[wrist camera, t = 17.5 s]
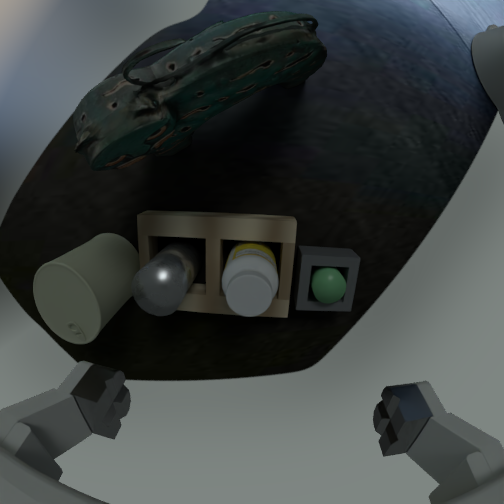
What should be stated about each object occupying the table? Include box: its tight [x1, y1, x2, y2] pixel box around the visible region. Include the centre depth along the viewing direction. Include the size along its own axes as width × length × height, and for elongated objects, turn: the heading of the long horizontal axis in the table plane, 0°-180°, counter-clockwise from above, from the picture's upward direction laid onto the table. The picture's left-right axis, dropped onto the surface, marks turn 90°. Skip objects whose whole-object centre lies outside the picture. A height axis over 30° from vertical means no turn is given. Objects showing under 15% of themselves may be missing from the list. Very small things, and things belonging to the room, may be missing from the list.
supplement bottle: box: [222, 240, 278, 317], centre depth 29 cm, size 5×5×10 cm
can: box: [33, 233, 140, 344], centre depth 29 cm, size 9×9×12 cm
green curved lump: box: [73, 11, 327, 171], centre depth 19 cm, size 20×6×20 cm, turn 118°
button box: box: [293, 246, 360, 311], centre depth 32 cm, size 6×6×4 cm
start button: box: [310, 266, 346, 303], centre depth 31 cm, size 4×4×3 cm
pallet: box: [137, 211, 297, 318], centre depth 33 cm, size 17×11×3 cm, turn 87°
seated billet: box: [131, 238, 203, 316], centre depth 29 cm, size 5×5×10 cm
